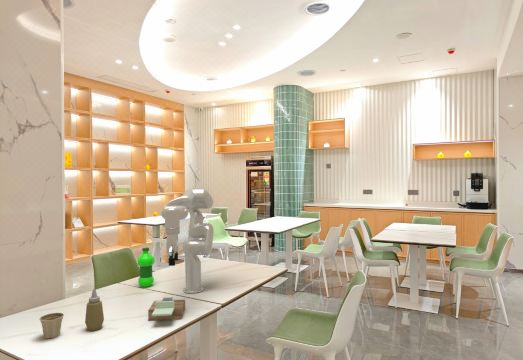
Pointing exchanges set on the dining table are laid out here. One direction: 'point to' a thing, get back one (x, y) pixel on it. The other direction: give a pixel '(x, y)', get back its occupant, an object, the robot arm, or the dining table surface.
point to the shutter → (163, 308)
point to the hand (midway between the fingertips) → (173, 263)
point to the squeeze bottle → (94, 312)
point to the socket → (177, 314)
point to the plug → (168, 299)
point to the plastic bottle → (145, 268)
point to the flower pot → (51, 324)
